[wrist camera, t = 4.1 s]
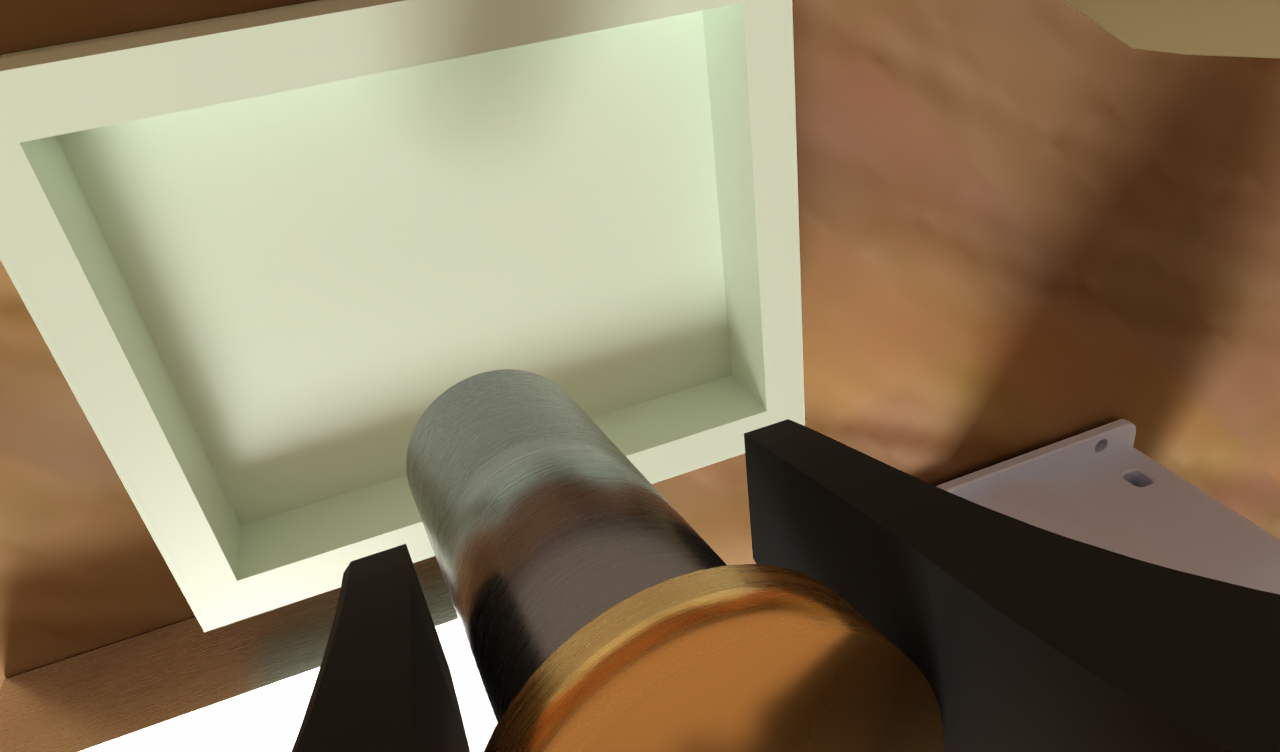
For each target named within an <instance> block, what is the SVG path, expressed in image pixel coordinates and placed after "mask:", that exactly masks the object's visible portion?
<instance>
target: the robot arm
mask: <svg viewBox="0 0 1280 752" xmlns="http://www.w3.org/2000/svg"><path fill="white" fill-rule="evenodd" d="M1135 435H1136V427H1135V425H1134V424H1133V423H1131V422H1129V421H1128V420H1125V419H1120V420H1117V421H1114V422H1111V423H1108V424H1106V425H1103V426H1100V427H1097V428H1095V429H1092V430H1089V431H1086V432H1084V433H1081V434H1078V435H1075V436H1073V437H1070V438H1067V439H1064V440H1062V441H1059V442H1056V443H1053V444H1051V445H1048V446H1045V447H1042V448H1039V449H1037V450H1034V451H1031V452H1028V453H1026V454H1023V455H1020V456H1017V457H1015V458H1012V459H1009V460H1006V461H1004V462H1001V463H998V464H995V465H993V466H990V467H987V468H984V469H982V470H979V471H976V472H973V473H971V474H968V475H965V476H962V477H960V478H957V479H954V480H951V481H948V482H946V483H943V484H940V485H937V486H934V485H931V484H929V483H927V482H925V481H922V480H920V479H918V478H916V477H913V476H911V475H909V474H907V473H904V472H902V471H900V470H898V469H896V468H894V467H891V466H889V465H887V464H885V463H883V462H881V461H878V460H876V459H874V458H872V457H870V456H868V455H866V454H863V453H861V452H859V451H857V450H855V449H853V448H851V447H849V446H846V445H844V444H842V443H840V442H838V441H836V440H834V439H832V438H830V437H827V436H825V435H823V434H821V433H819V432H817V431H814V430H812V429H810V428H808V427H806V426H803V425H801V424H799V423H796V422H794V421H792V420H789V419H787V420H784V421H781V422H778V423H775V424H772V425H769V426H766V427H762V428H759V429H756V430H753V431H750V432H747V433H744V442H745V455H746V469H747V482H748V495H749V509H750V522H751V535H752V549H753V558H754V560H755V562H756V564H758V565H768V566H779V567H783V568H787V569H790V570H794V571H798V572H802V573H804V574H806V575H808V576H811V577H813V578H815V579H817V580H819V581H821V582H823V583H824V584H826V585H827V586H829V587H830V588H831V589H833V590H834V591H836V592H837V593H838V594H839V595H841V596H842V597H843V598H844V599H845V600H846V601H847V602H848V603H849V604H850V605H851V606H852V607H854V608H855V609H856V610H857V611H858V612H859V613H860V614H861V615H862V616H863V617H864V618H866V619H867V620H868V621H869V622H870V623H871V624H872V625H873V626H874V627H875V628H876V629H877V630H879V631H880V632H881V633H882V634H883V635H884V636H885V637H886V638H887V639H888V640H889V641H890V642H892V643H893V644H894V645H895V646H896V647H897V648H898V649H899V650H900V651H901V652H902V653H903V654H905V655H906V656H907V657H908V658H909V659H910V660H911V661H912V662H913V663H914V664H915V665H916V666H917V668H918V669H919V670H920V671H921V672H922V673H923V675H924V676H925V678H926V679H927V681H928V683H929V684H930V686H931V687H932V689H933V692H934V694H935V697H936V700H937V702H938V705H939V708H940V713H941V718H942V724H943V736H944V752H1280V539H1278V538H1276V537H1275V536H1273V535H1272V534H1270V533H1269V532H1267V531H1265V530H1264V529H1262V528H1261V527H1259V526H1257V525H1256V524H1254V523H1253V522H1251V521H1250V520H1248V519H1246V518H1245V517H1243V516H1242V515H1240V514H1238V513H1237V512H1235V511H1234V510H1232V509H1231V508H1229V507H1227V506H1226V505H1224V504H1223V503H1221V502H1219V501H1218V500H1216V499H1215V498H1213V497H1212V496H1210V495H1208V494H1207V493H1205V492H1204V491H1202V490H1200V489H1199V488H1197V487H1196V486H1194V485H1193V484H1191V483H1189V482H1188V481H1186V480H1185V479H1183V478H1181V477H1180V476H1178V475H1177V474H1175V473H1174V472H1172V471H1170V470H1169V469H1167V468H1166V467H1164V466H1162V465H1161V464H1159V463H1158V462H1156V461H1155V460H1153V459H1151V458H1150V457H1148V456H1147V455H1145V454H1143V453H1142V452H1140V451H1139V450H1137V449H1136V448H1134V447H1133V445H1134V440H1135ZM291 752H470V749H469V745H468V740H467V736H466V732H465V728H464V724H463V720H462V716H461V712H460V708H459V704H458V700H457V696H456V692H455V688H454V684H453V680H452V676H451V672H450V668H449V665H448V663H447V660H446V657H445V654H444V651H443V648H442V645H441V642H440V640H439V637H438V634H437V631H436V628H435V625H434V622H433V620H432V617H431V614H430V611H429V608H428V605H427V602H426V599H425V597H424V594H423V591H422V588H421V585H420V582H419V579H418V577H417V574H416V571H415V568H414V565H413V562H412V559H411V557H410V554H409V551H408V548H407V545H406V544H403V545H400V546H397V547H394V548H391V549H388V550H385V551H382V552H379V553H375V554H372V555H369V556H366V557H363V558H360V559H357V560H354V561H351V562H350V564H349V565H348V567H347V568H346V570H345V571H344V573H343V579H342V585H341V590H340V594H339V599H338V603H337V608H336V612H335V616H334V620H333V624H332V628H331V632H330V635H329V639H328V642H327V646H326V649H325V653H324V656H323V660H322V663H321V666H320V669H319V672H318V675H317V678H316V681H315V684H314V687H313V690H312V694H311V697H310V700H309V703H308V706H307V709H306V712H305V715H304V718H303V721H302V724H301V727H300V729H299V732H298V735H297V738H296V740H295V743H294V745H293V748H292V751H291Z"/></svg>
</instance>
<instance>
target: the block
mask: <svg viewBox="0 0 1280 752" xmlns="http://www.w3.org/2000/svg"><path fill="white" fill-rule="evenodd" d="M413 565H414V568H415V571H416V574H417V577H418V579H419V582H420V585H421V588H422V591H423V594H424V597H425V599H426V602H427V605H428V608H429V611H430V614H431V617H432V620H433V622H434V625H435V628H436V631H437V634H438V637H439V640H440V642H441V645H442V648H443V651H444V654H445V657H446V660H447V663H448V665H449V668H450V672H451V676H452V680H453V684H454V688H455V692H456V696H457V700H458V704H459V708H460V712H461V716H462V720H463V724H464V728H465V732H466V736H467V740H468V745H469V749H470V752H484V750H485V748H486V746H487V744H488V742H489V740H490V738H491V735H492V733H493V731H494V729H495V727H496V726H497V724H498V722H497V719H496V717H495V714H494V711H493V709H492V706H491V703H490V701H489V698H488V695H487V693H486V690H485V687H484V685H483V682H482V679H481V677H480V674H479V671H478V669H477V666H476V663H475V661H474V658H473V655H472V653H471V650H470V647H469V645H468V642H467V639H466V637H465V634H464V631H463V629H462V626H461V623H460V621H459V618H458V615H457V613H456V610H455V608H454V605H453V602H452V600H451V597H450V594H449V592H448V589H447V586H446V584H445V581H444V578H443V576H442V573H441V570H440V568H439V565H438V562H437V560H436V557H435V556H433V557H430V558H427V559H424V560H421V561H418V562H415V563H413ZM340 590H341V587H340V588H337V589H334V590H331V591H328V592H325V593H322V594H319V595H316V596H313V597H310V598H307V599H304V600H300V601H297V602H294V603H291V604H288V605H285V606H282V607H279V608H276V609H273V610H270V611H267V612H264V613H261V614H258V615H255V616H252V617H249V618H246V619H243V620H240V621H237V622H234V623H231V624H228V625H225V626H222V627H219V628H216V629H213V630H210V631H207V632H204V631H203V629H202V627H201V626H200V624H199V622H198V620H197V618H196V617H194V618H190V619H187V620H184V621H181V622H178V623H175V624H172V625H169V626H166V627H163V628H160V629H157V630H154V631H151V632H148V633H145V634H142V635H138V636H135V637H132V638H129V639H126V640H123V641H120V642H117V643H114V644H111V645H108V646H105V647H102V648H99V649H96V650H93V651H89V652H86V653H83V654H80V655H77V656H74V657H71V658H68V659H65V660H62V661H59V662H56V663H53V664H50V665H47V666H44V667H40V668H37V669H34V670H31V671H28V672H25V673H22V674H19V675H16V676H13V677H10V678H7V679H4V682H3V685H2V687H1V690H0V752H291V751H292V748H293V745H294V743H295V740H296V738H297V735H298V732H299V729H300V727H301V724H302V721H303V718H304V715H305V712H306V709H307V706H308V703H309V700H310V697H311V694H312V690H313V687H314V684H315V681H316V678H317V675H318V672H319V669H320V666H321V663H322V660H323V656H324V653H325V649H326V646H327V642H328V639H329V635H330V632H331V628H332V624H333V620H334V616H335V612H336V608H337V603H338V599H339V594H340Z"/></svg>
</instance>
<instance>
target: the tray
mask: <svg viewBox="0 0 1280 752" xmlns="http://www.w3.org/2000/svg"><path fill="white" fill-rule="evenodd" d="M0 260H1V262H2V264H3V265H4V267H5V269H6V271H7V273H8V274H9V276H10V278H11V280H12V282H13V284H14V285H15V287H16V289H17V291H18V293H19V295H20V296H21V298H22V300H23V302H24V304H25V306H26V307H27V309H28V311H29V313H30V315H31V317H32V318H33V320H34V322H35V324H36V326H37V328H38V329H39V331H40V333H41V335H42V337H43V338H44V340H45V342H46V344H47V346H48V348H49V349H50V351H51V353H52V355H53V357H54V359H55V360H56V362H57V364H58V366H59V368H60V370H61V371H62V373H63V375H64V377H65V379H66V381H67V382H68V384H69V386H70V388H71V390H72V392H73V393H74V395H75V397H76V399H77V401H78V403H79V404H80V406H81V408H82V410H83V412H84V413H85V415H86V417H87V419H88V421H89V423H90V424H91V426H92V428H93V430H94V432H95V434H96V435H97V437H98V439H99V441H100V443H101V445H102V446H103V448H104V450H105V452H106V454H107V456H108V457H109V459H110V461H111V463H112V465H113V467H114V468H115V470H116V472H117V474H118V476H119V477H120V479H121V481H122V483H123V485H124V487H125V488H126V490H127V492H128V494H129V496H130V498H131V499H132V501H133V503H134V505H135V507H136V509H137V510H138V512H139V514H140V516H141V518H142V520H143V521H144V523H145V525H146V527H147V529H148V531H149V532H150V534H151V536H152V538H153V540H154V541H155V543H156V545H157V547H158V549H159V551H160V552H161V554H162V556H163V558H164V560H165V562H166V563H167V565H168V567H169V569H170V571H171V573H172V574H173V576H174V578H175V580H176V582H177V584H178V585H179V587H180V589H181V591H182V593H183V595H184V596H185V598H186V600H187V602H188V604H189V606H190V607H191V609H192V611H193V613H194V615H195V616H196V618H197V620H198V622H199V624H200V626H201V627H202V629H203V631H204V632H207V631H210V630H213V629H216V628H219V627H222V626H225V625H228V624H231V623H234V622H237V621H240V620H243V619H246V618H249V617H252V616H255V615H258V614H261V613H264V612H267V611H270V610H273V609H276V608H279V607H282V606H285V605H288V604H291V603H294V602H297V601H300V600H304V599H307V598H310V597H313V596H316V595H319V594H322V593H325V592H328V591H331V590H334V589H337V588H340V587H341V585H342V579H343V573H344V571H345V570H346V568H347V567H348V565H349V564H350V562H351V561H354V560H357V559H360V558H363V557H366V556H369V555H372V554H375V553H379V552H382V551H385V550H388V549H391V548H394V547H397V546H400V545H403V544H406V545H407V548H408V551H409V554H410V557H411V559H412V562H413V563H415V562H418V561H421V560H424V559H427V558H430V557H433V556H435V554H434V552H433V549H432V546H431V544H430V541H429V538H428V536H427V533H426V530H425V528H424V525H423V522H422V520H421V517H420V514H419V512H418V509H417V506H416V504H415V501H414V498H413V496H412V493H411V490H410V487H409V484H408V479H407V473H406V457H407V449H408V445H409V442H410V438H411V435H412V433H413V431H414V428H415V426H416V424H417V423H418V421H419V419H420V418H421V416H422V415H423V413H424V412H425V411H426V409H427V408H428V407H429V406H430V404H431V403H432V402H433V401H434V400H435V399H436V398H437V397H438V396H440V395H441V394H442V393H443V392H445V391H446V390H447V389H449V388H450V387H452V386H453V385H455V384H457V383H458V382H460V381H462V380H464V379H467V378H469V377H471V376H474V375H477V374H480V373H483V372H488V371H493V370H505V369H511V370H522V371H527V372H532V373H535V374H538V375H541V376H543V377H545V378H547V379H549V380H551V381H553V382H554V383H555V384H557V385H558V386H560V387H561V388H562V389H563V390H564V391H565V392H566V393H567V394H568V395H569V396H570V397H571V398H572V399H573V400H574V401H575V402H576V403H577V404H578V405H579V407H580V408H581V409H582V410H583V411H584V412H585V413H586V414H587V415H588V416H589V417H590V418H591V419H592V421H593V422H594V423H595V424H596V425H597V426H598V427H599V428H600V429H601V430H602V431H603V432H604V433H605V435H606V436H607V437H608V438H609V439H610V440H611V441H612V442H613V443H614V444H615V445H616V446H617V447H618V449H619V450H620V451H621V452H622V453H623V454H624V455H625V456H626V457H627V458H628V459H629V460H630V461H631V463H632V464H633V465H634V466H635V467H636V468H637V469H638V470H639V471H640V472H641V473H642V474H643V475H644V477H645V478H646V479H647V480H648V481H649V482H650V483H651V484H654V483H657V482H660V481H663V480H666V479H669V478H672V477H675V476H678V475H681V474H684V473H687V472H690V471H693V470H696V469H699V468H702V467H705V466H708V465H711V464H714V463H717V462H720V461H723V460H726V459H729V458H732V457H735V456H738V455H741V454H744V453H745V442H744V433H747V432H750V431H753V430H756V429H759V428H762V427H766V426H769V425H772V424H775V423H778V422H781V421H784V420H787V419H789V420H792V421H794V422H796V423H799V424H801V425H803V426H805V409H804V376H803V343H802V310H801V277H800V244H799V210H798V177H797V144H796V111H795V78H794V45H793V12H792V0H318V1H313V2H307V3H301V4H295V5H289V6H283V7H277V8H272V9H266V10H260V11H254V12H248V13H242V14H236V15H231V16H225V17H219V18H213V19H207V20H201V21H196V22H190V23H184V24H178V25H172V26H166V27H160V28H155V29H149V30H143V31H137V32H131V33H125V34H119V35H114V36H108V37H102V38H96V39H90V40H84V41H78V42H73V43H67V44H61V45H55V46H49V47H43V48H38V49H32V50H26V51H20V52H14V53H8V54H2V55H0Z"/></svg>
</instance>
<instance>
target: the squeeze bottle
mask: <svg viewBox="0 0 1280 752" xmlns="http://www.w3.org/2000/svg"><path fill="white" fill-rule="evenodd" d="M1064 1H1066V2H1067V3H1069V4H1070V5H1071V6H1073V7H1074V8H1076V9H1077V10H1078V11H1080V12H1081V13H1083V14H1084V15H1086V16H1087V17H1088V18H1090V19H1091V20H1093V21H1094V22H1095V23H1097V24H1098V25H1100V26H1101V27H1103V28H1104V29H1105V30H1107V31H1108V32H1110V33H1111V34H1112V35H1114V36H1115V37H1117V38H1118V39H1120V40H1121V41H1122V42H1124V43H1125V44H1127V45H1128V46H1130V47H1131V48H1134V49H1142V50H1151V51H1159V52H1168V53H1176V54H1184V55H1207V56H1232V57H1257V58H1280V0H1064Z"/></svg>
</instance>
